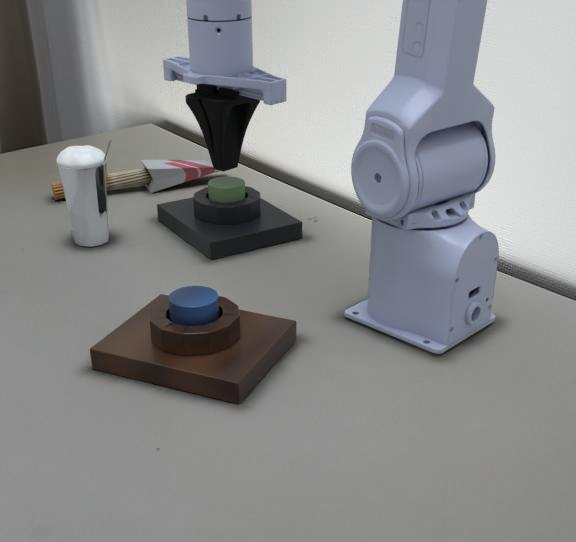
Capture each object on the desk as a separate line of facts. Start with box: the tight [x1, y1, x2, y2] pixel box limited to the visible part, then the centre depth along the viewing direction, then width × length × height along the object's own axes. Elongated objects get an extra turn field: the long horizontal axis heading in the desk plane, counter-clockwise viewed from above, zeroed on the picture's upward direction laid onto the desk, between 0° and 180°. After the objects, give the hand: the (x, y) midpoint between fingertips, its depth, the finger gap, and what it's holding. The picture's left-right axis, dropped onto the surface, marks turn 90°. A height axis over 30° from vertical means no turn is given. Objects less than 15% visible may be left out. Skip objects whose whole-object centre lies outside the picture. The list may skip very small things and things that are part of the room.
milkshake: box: [55, 138, 113, 248], centre depth 82 cm, size 4×5×10 cm
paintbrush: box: [50, 159, 220, 201], centre depth 97 cm, size 4×3×20 cm
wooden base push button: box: [89, 293, 297, 405], centre depth 64 cm, size 12×10×4 cm
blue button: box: [168, 285, 219, 326], centre depth 63 cm, size 4×4×2 cm
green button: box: [207, 175, 246, 203], centre depth 85 cm, size 4×4×2 cm
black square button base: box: [156, 185, 303, 260], centre depth 86 cm, size 12×10×4 cm
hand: (225, 167), depth 84 cm, fingers closed
